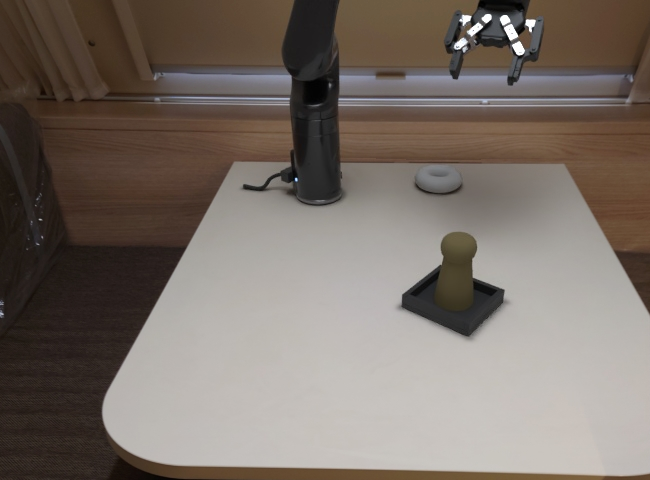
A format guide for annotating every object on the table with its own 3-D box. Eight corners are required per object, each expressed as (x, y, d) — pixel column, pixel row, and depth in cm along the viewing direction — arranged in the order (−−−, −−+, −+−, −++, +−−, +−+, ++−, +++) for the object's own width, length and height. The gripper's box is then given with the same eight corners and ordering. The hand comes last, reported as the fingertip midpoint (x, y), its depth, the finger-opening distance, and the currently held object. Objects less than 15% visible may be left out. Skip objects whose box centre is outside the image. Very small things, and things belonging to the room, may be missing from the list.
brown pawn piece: (472, 313, 85) (480, 249, 78) (431, 308, 86) (436, 244, 79) (474, 290, 90) (482, 228, 83) (435, 286, 91) (440, 224, 84)
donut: (417, 175, 128) (412, 193, 120) (417, 160, 126) (413, 178, 118) (462, 178, 127) (460, 197, 118) (463, 163, 125) (462, 181, 117)
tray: (401, 306, 88) (401, 294, 86) (439, 276, 94) (440, 264, 93) (468, 336, 82) (469, 323, 80) (503, 301, 88) (505, 289, 87)
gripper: (460, -36, 87) (431, 61, 85) (556, -32, 82) (528, 70, 80) (467, -2, 94) (440, 88, 92) (556, 3, 89) (530, 98, 87)
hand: (481, 79), depth 86 cm, fingers open, 8 cm apart
